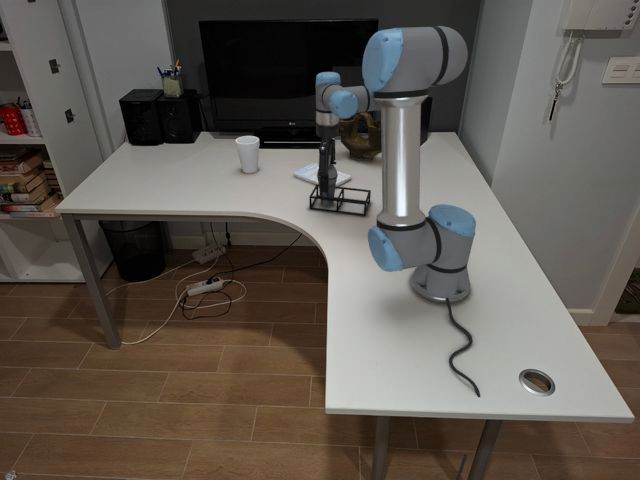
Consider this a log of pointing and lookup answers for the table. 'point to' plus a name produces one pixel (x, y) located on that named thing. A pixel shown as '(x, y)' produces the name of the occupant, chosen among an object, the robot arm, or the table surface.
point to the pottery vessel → (357, 143)
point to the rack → (341, 200)
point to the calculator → (311, 175)
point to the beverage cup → (332, 183)
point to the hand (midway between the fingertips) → (327, 186)
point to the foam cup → (248, 153)
